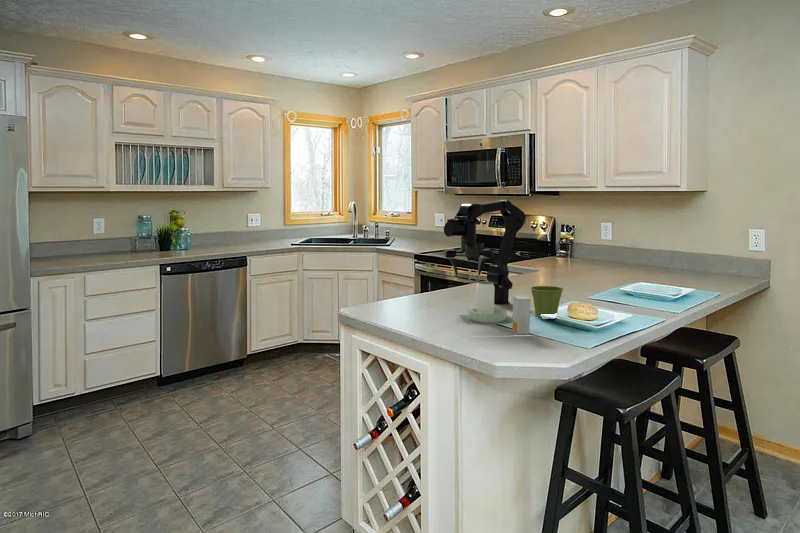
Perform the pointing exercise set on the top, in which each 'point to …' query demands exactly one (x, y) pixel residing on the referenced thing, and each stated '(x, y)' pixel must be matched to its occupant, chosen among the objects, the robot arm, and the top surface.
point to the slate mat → (468, 321)
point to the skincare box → (521, 314)
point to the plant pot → (546, 299)
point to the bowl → (487, 315)
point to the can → (485, 297)
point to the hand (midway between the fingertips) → (467, 275)
